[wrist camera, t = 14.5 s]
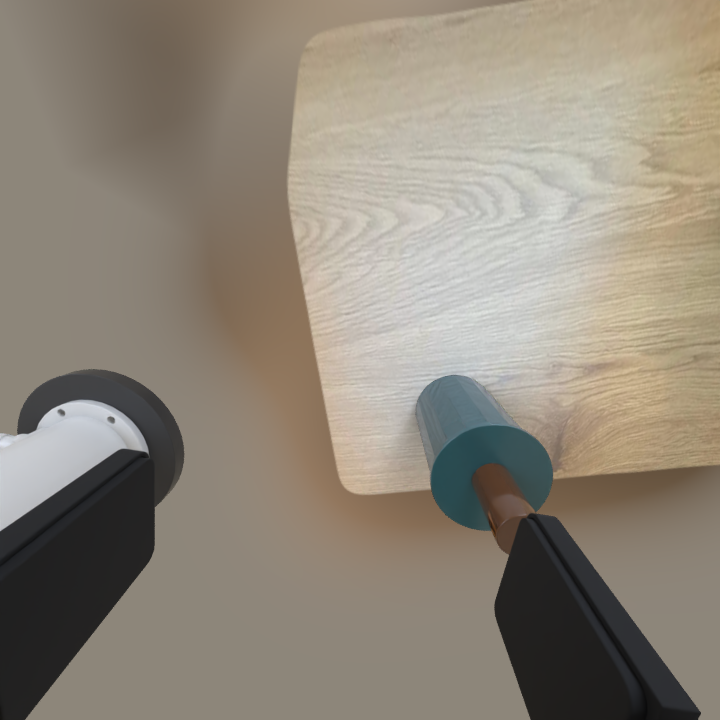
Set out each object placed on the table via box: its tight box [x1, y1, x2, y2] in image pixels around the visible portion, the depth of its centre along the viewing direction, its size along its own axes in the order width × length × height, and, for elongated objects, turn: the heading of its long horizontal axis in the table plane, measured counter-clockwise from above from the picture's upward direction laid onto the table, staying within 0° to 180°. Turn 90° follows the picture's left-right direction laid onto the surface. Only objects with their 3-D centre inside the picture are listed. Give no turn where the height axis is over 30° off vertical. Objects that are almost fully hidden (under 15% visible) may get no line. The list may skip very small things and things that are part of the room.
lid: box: [430, 422, 553, 554], centre depth 23 cm, size 9×9×7 cm
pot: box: [416, 375, 520, 470], centre depth 31 cm, size 8×8×12 cm
